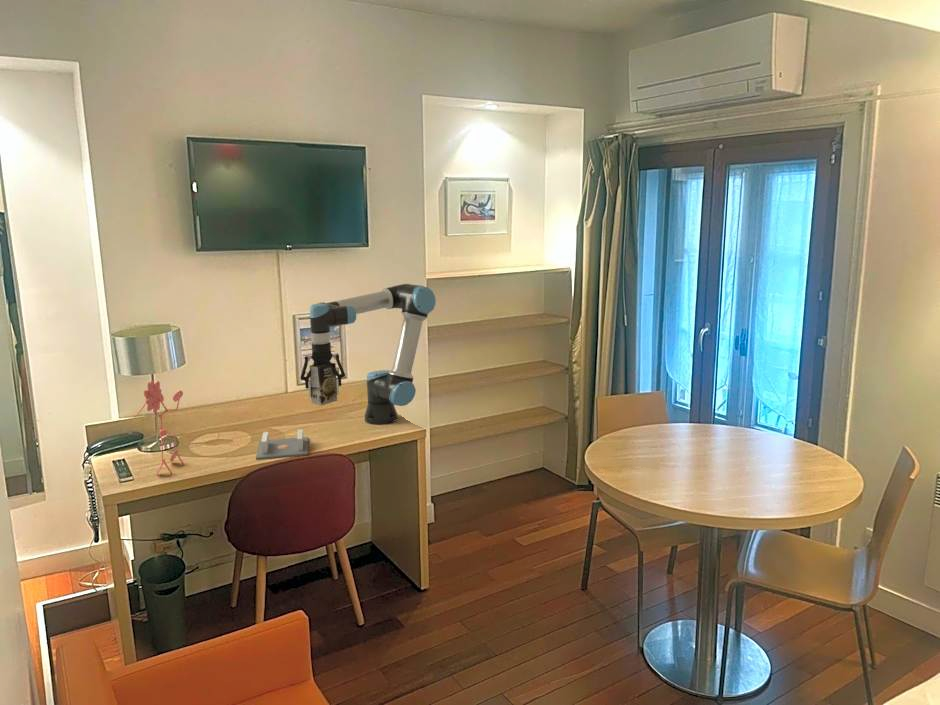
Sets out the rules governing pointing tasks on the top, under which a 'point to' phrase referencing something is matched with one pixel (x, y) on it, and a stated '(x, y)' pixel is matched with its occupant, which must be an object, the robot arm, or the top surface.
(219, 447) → the top surface
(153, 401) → the figurine
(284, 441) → the collar base
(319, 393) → the coffee box
